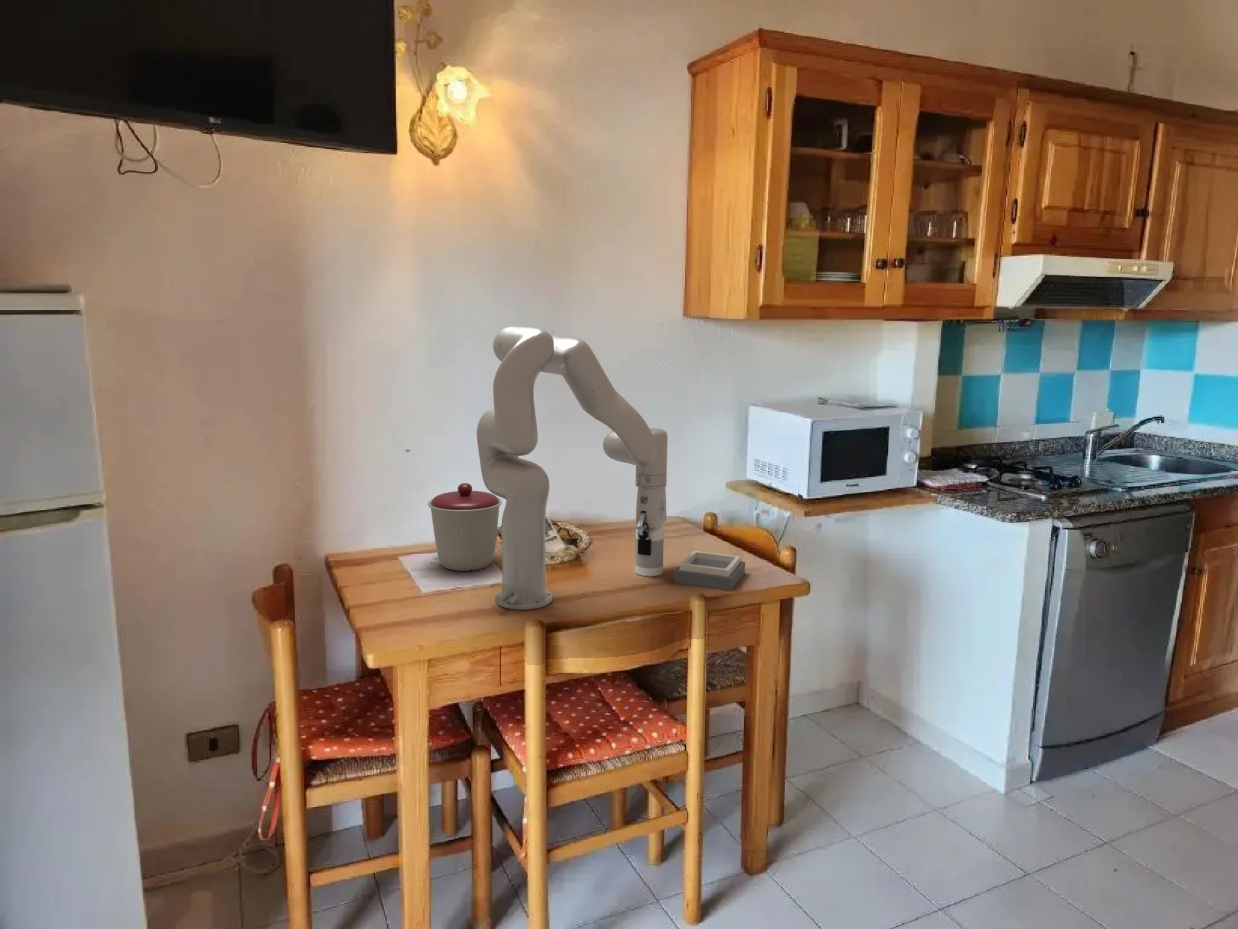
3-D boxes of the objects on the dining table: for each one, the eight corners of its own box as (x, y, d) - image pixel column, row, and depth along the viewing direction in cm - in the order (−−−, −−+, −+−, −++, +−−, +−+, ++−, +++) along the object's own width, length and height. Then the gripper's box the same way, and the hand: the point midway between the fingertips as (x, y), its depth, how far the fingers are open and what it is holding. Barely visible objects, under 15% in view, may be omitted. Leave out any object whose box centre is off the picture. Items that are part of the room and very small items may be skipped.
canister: (416, 563, 214) (413, 482, 210) (477, 550, 226) (476, 473, 222) (453, 581, 201) (451, 495, 197) (516, 567, 213) (516, 484, 209)
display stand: (731, 590, 198) (732, 572, 197) (673, 582, 202) (674, 564, 202) (744, 573, 210) (745, 555, 210) (690, 566, 215) (690, 549, 214)
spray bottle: (631, 575, 208) (633, 503, 204) (639, 567, 214) (640, 497, 211) (658, 578, 206) (660, 505, 202) (665, 570, 212) (667, 499, 209)
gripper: (654, 488, 196) (652, 562, 200) (676, 474, 212) (674, 543, 215) (623, 485, 199) (622, 558, 202) (648, 471, 215) (646, 540, 218)
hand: (649, 550), depth 209 cm, fingers closed on spray bottle, 6 cm apart
